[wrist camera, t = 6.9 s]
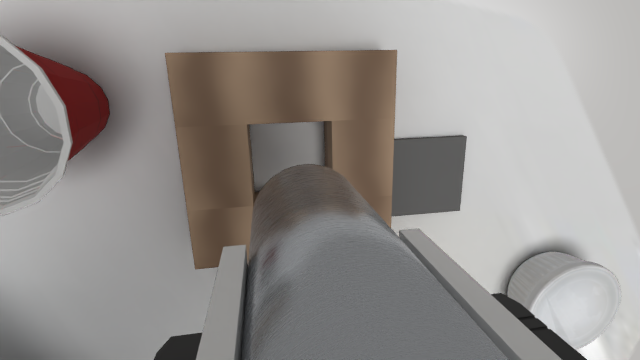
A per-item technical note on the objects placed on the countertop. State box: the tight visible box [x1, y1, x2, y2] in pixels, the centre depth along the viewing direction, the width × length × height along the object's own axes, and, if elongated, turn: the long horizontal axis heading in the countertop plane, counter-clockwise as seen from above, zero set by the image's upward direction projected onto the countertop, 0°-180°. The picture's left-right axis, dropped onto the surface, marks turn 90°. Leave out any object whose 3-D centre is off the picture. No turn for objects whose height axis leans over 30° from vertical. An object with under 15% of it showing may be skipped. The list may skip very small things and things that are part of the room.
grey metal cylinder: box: [241, 164, 509, 360], centre depth 10 cm, size 6×6×15 cm
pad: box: [391, 136, 467, 216], centre depth 35 cm, size 8×8×1 cm
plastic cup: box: [0, 35, 110, 215], centre depth 23 cm, size 11×11×12 cm
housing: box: [165, 50, 397, 269], centre depth 31 cm, size 18×18×4 cm
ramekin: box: [507, 252, 621, 350], centre depth 40 cm, size 11×11×5 cm
